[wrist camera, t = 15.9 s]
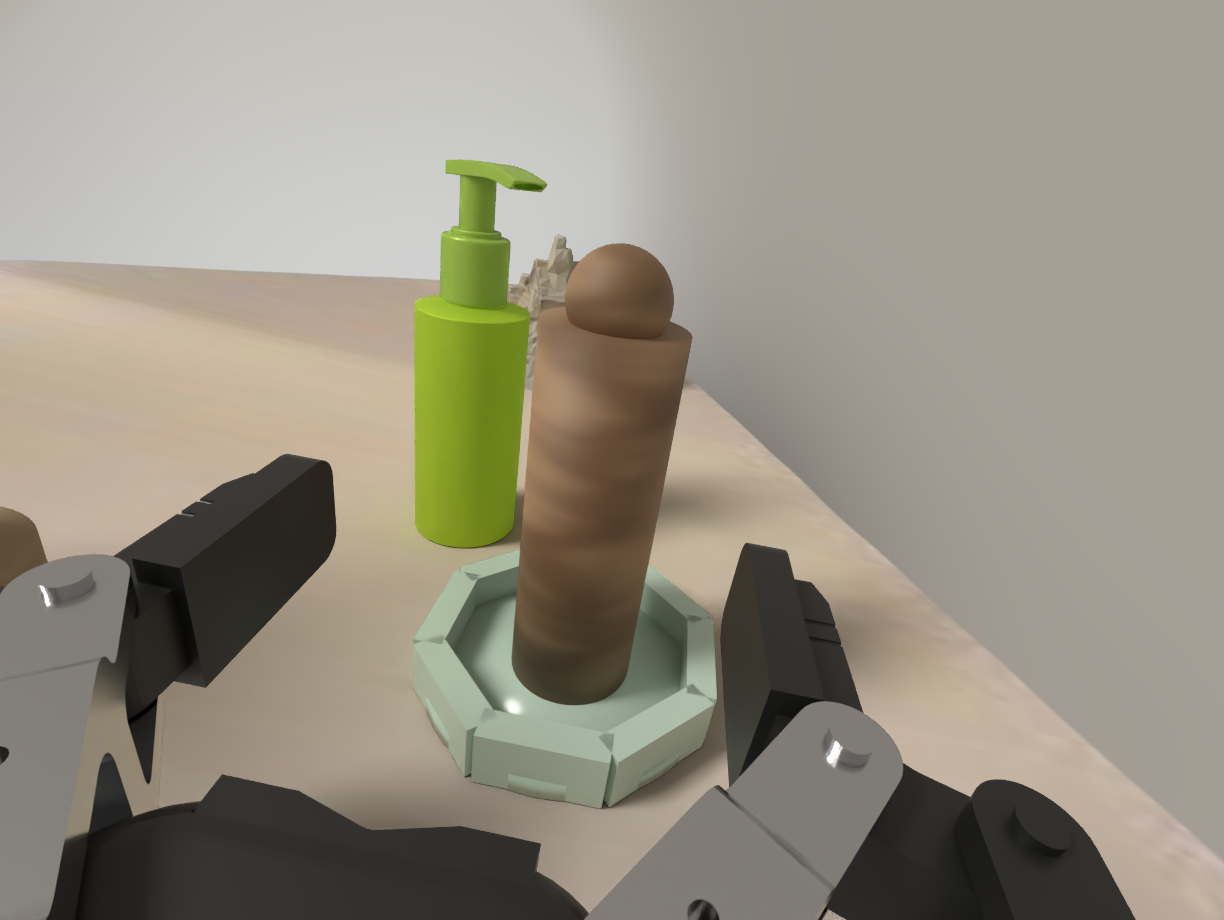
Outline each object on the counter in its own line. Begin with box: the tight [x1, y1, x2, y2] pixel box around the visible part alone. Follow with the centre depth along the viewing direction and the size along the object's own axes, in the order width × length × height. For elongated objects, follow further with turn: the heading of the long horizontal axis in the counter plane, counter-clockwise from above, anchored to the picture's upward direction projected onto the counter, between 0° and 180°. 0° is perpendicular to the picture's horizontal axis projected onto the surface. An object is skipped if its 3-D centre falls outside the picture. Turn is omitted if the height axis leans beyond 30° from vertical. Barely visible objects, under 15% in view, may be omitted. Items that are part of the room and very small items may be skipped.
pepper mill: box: [511, 244, 692, 705], centre depth 23 cm, size 5×5×18 cm
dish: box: [413, 550, 717, 809], centre depth 27 cm, size 13×13×2 cm
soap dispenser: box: [414, 160, 547, 548], centre depth 32 cm, size 6×7×20 cm
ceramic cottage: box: [507, 234, 580, 390], centre depth 64 cm, size 16×16×15 cm
